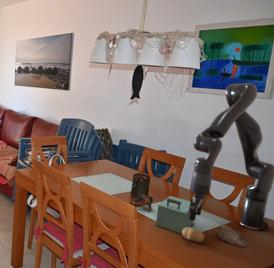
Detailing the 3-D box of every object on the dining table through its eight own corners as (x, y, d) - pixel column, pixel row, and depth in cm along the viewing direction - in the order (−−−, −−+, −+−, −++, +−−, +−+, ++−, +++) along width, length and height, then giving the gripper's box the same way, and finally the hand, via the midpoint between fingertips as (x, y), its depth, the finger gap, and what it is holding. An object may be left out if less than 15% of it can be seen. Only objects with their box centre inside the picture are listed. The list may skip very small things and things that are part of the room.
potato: (204, 241, 146) (206, 230, 146) (201, 246, 143) (203, 234, 142) (183, 234, 152) (185, 224, 151) (179, 238, 148) (181, 227, 147)
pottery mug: (146, 214, 173) (139, 199, 174) (133, 215, 181) (127, 201, 182) (160, 205, 179) (153, 190, 180) (147, 206, 187) (141, 192, 188)
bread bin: (182, 234, 152) (186, 214, 150) (155, 225, 160) (158, 205, 158) (192, 223, 165) (196, 204, 163) (167, 215, 173) (169, 197, 171)
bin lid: (185, 214, 150) (187, 205, 149) (157, 206, 158) (159, 197, 157) (196, 204, 163) (197, 195, 162) (169, 197, 171) (171, 188, 170)
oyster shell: (223, 243, 146) (225, 233, 145) (214, 231, 158) (216, 221, 157) (247, 247, 144) (249, 237, 143) (236, 234, 156) (238, 224, 155)
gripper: (206, 187, 135) (199, 225, 138) (214, 181, 146) (208, 215, 149) (186, 182, 140) (180, 219, 143) (196, 176, 150) (190, 210, 153)
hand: (194, 217), depth 146 cm, fingers open, 8 cm apart
